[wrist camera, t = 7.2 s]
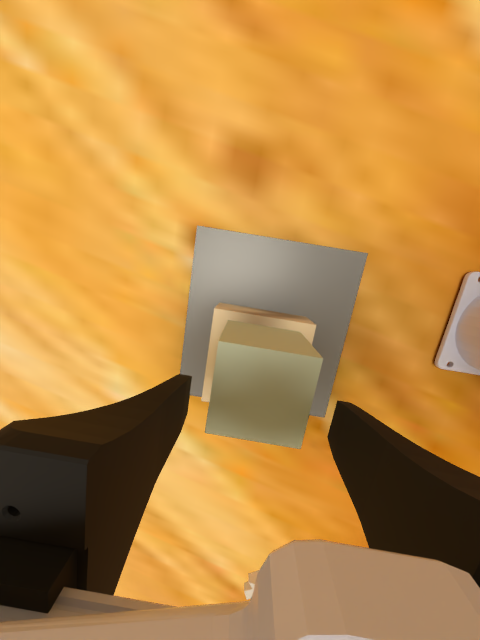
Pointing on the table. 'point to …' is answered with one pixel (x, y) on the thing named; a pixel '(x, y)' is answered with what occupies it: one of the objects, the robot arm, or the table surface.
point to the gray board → (271, 294)
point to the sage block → (263, 384)
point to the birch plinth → (251, 316)
